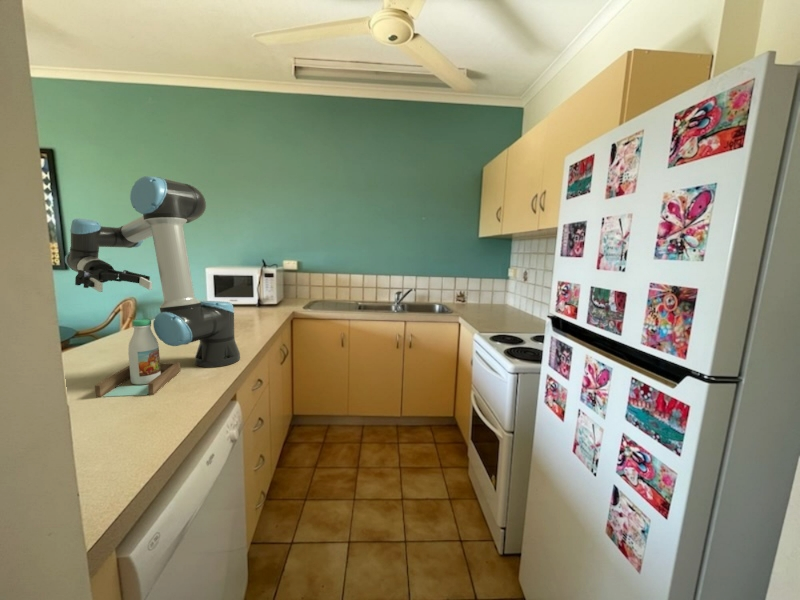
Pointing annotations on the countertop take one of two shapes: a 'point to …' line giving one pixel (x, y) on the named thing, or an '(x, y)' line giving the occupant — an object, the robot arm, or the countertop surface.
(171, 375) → the bay
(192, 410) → the countertop surface
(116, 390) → the pad
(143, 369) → the milk bottle
